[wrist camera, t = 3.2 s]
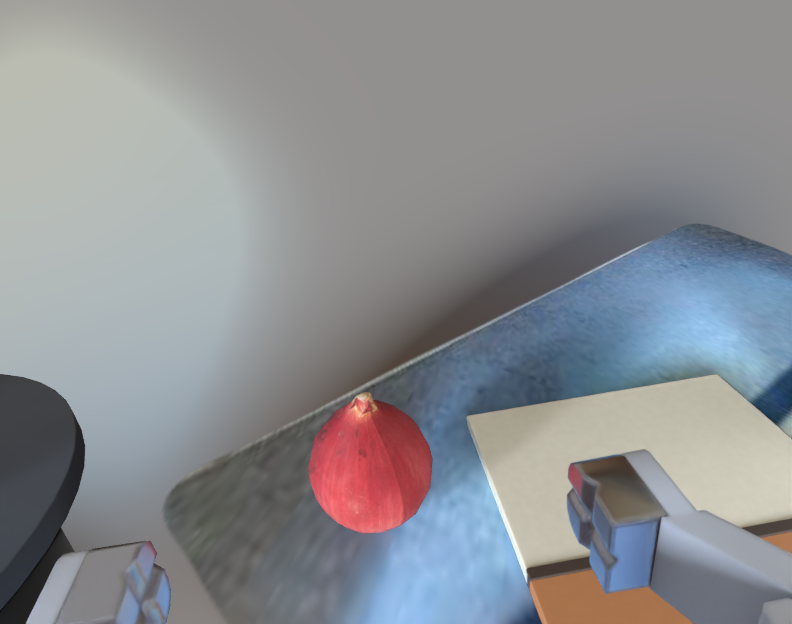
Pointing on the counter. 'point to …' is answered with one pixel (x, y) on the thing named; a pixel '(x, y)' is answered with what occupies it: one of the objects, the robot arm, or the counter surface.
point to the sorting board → (614, 434)
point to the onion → (370, 466)
